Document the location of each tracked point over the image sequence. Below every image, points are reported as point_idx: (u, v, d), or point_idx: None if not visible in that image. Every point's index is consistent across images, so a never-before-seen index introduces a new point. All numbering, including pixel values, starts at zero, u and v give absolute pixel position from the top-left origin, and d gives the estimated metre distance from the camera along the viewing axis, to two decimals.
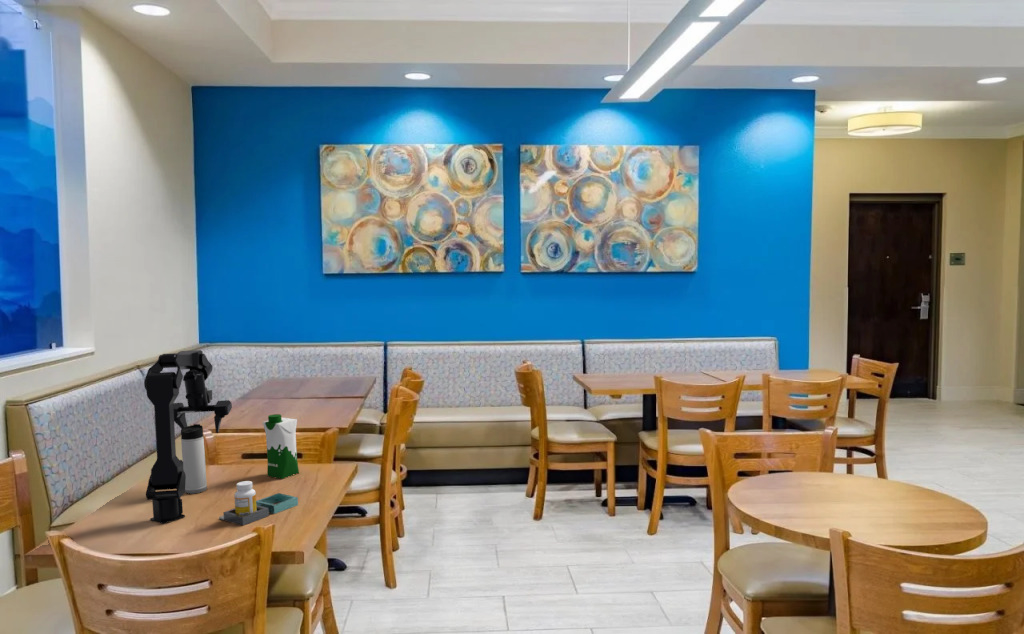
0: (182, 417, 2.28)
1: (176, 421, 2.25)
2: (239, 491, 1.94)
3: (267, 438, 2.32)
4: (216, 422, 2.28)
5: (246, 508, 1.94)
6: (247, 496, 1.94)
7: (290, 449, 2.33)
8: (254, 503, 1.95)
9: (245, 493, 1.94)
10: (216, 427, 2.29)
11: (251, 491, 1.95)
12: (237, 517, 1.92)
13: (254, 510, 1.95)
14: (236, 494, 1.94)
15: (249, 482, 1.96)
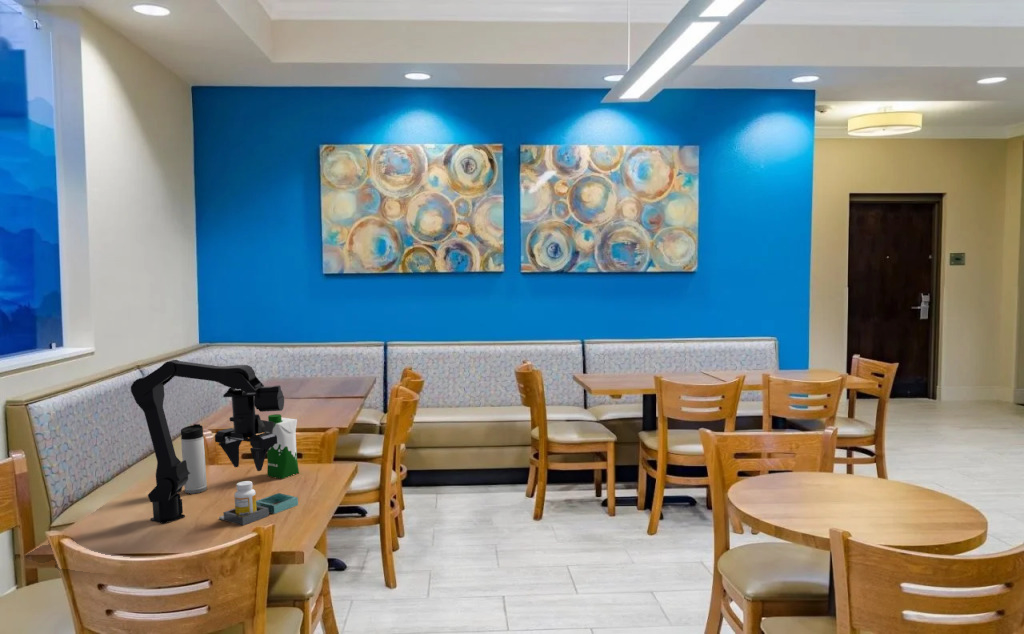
0: (232, 445, 1.99)
1: (222, 447, 1.97)
2: (239, 491, 1.94)
3: None
4: (253, 456, 1.92)
5: (246, 508, 1.94)
6: (247, 496, 1.94)
7: (290, 449, 2.33)
8: (254, 503, 1.95)
9: (245, 493, 1.94)
10: (255, 463, 1.93)
11: (251, 491, 1.95)
12: (237, 517, 1.92)
13: (254, 510, 1.95)
14: (236, 494, 1.94)
15: (249, 482, 1.96)
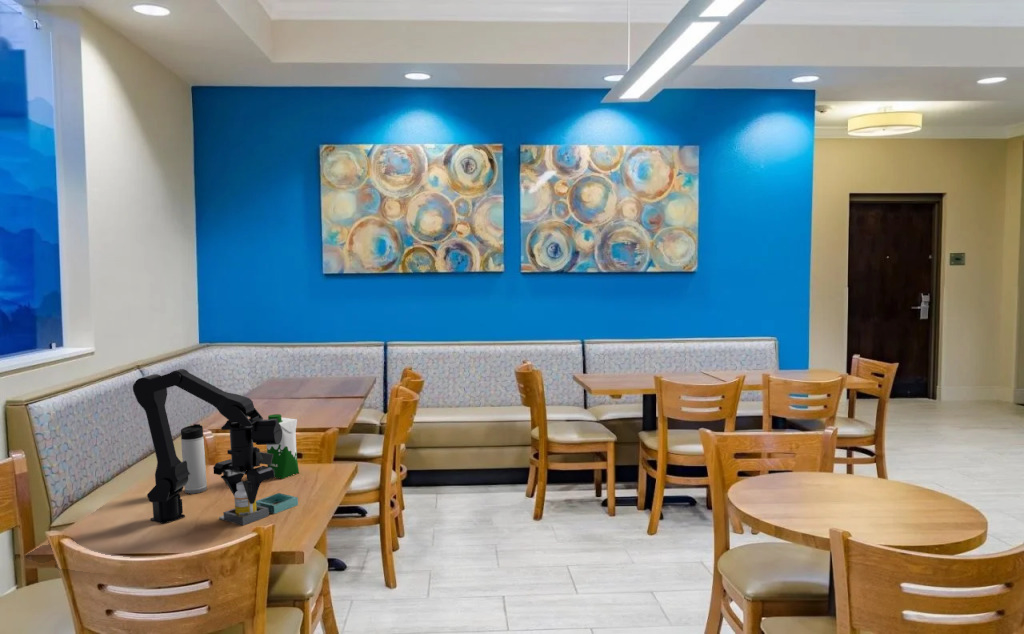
0: (234, 477, 1.97)
1: (224, 480, 1.96)
2: (239, 491, 1.94)
3: None
4: (246, 489, 1.92)
5: (246, 508, 1.94)
6: None
7: (290, 449, 2.33)
8: (254, 503, 1.95)
9: (245, 493, 1.94)
10: (247, 495, 1.93)
11: None
12: (237, 517, 1.92)
13: (254, 510, 1.95)
14: (236, 494, 1.94)
15: None
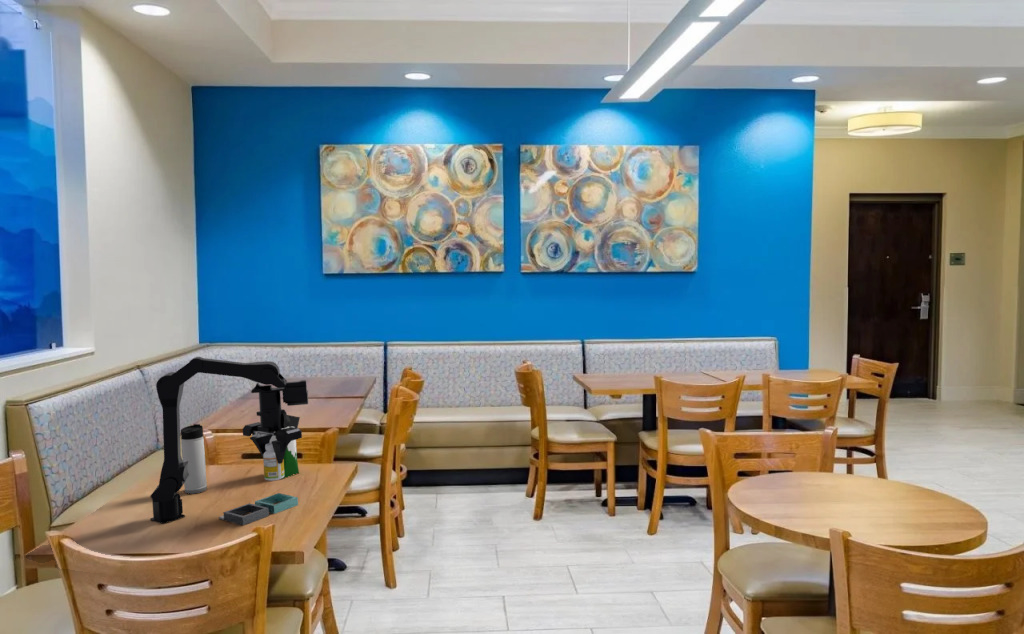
0: (263, 439, 2.04)
1: (253, 441, 2.03)
2: (268, 451, 2.02)
3: None
4: (274, 449, 1.99)
5: (275, 468, 2.01)
6: (275, 456, 2.01)
7: (290, 449, 2.33)
8: (282, 463, 2.03)
9: (273, 453, 2.01)
10: (276, 455, 2.00)
11: None
12: (237, 517, 1.92)
13: (282, 470, 2.03)
14: (265, 454, 2.01)
15: None
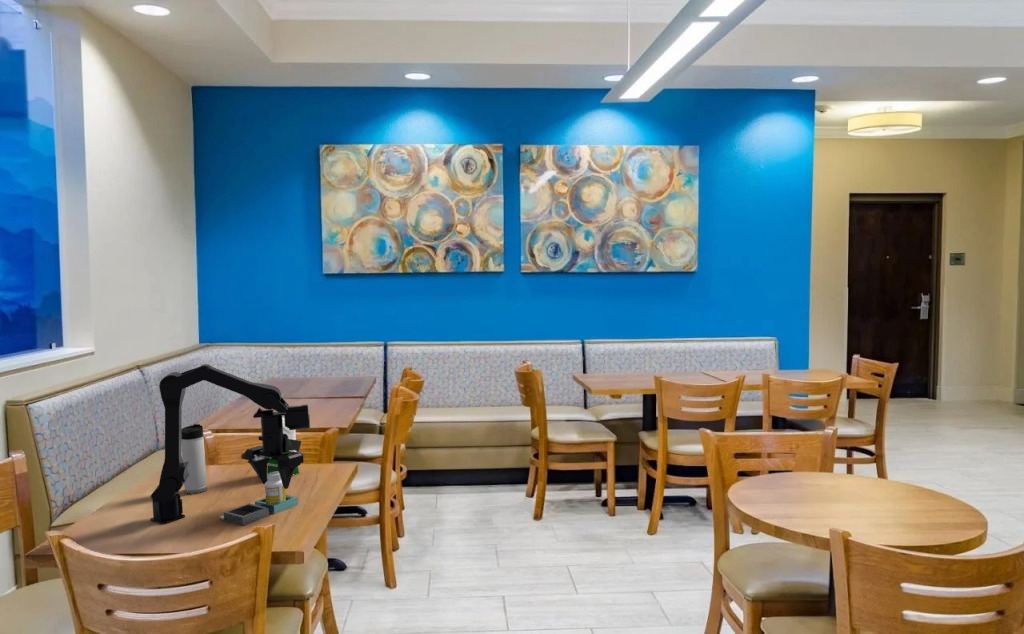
0: (260, 462, 2.06)
1: (251, 464, 2.05)
2: (269, 481, 2.02)
3: None
4: (280, 474, 1.99)
5: (276, 497, 2.02)
6: (277, 485, 2.02)
7: None
8: (284, 492, 2.04)
9: (275, 483, 2.02)
10: (282, 481, 2.00)
11: (281, 481, 2.03)
12: (237, 517, 1.92)
13: (284, 499, 2.04)
14: (267, 484, 2.02)
15: None
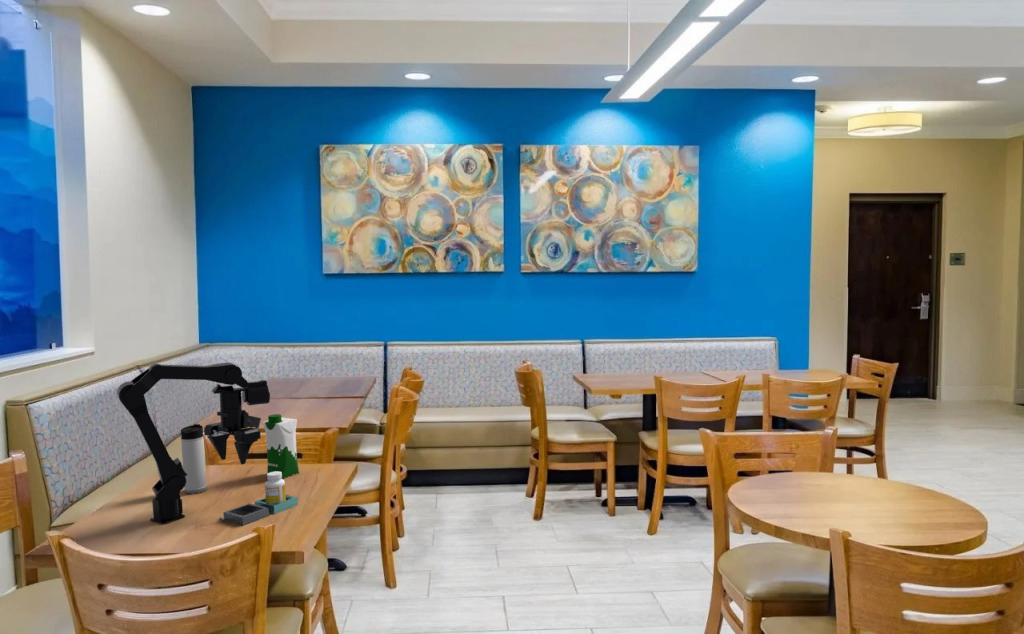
0: (220, 438, 2.08)
1: (210, 440, 2.07)
2: (269, 481, 2.02)
3: (267, 438, 2.32)
4: (237, 449, 2.01)
5: (276, 497, 2.02)
6: (277, 485, 2.02)
7: (290, 449, 2.33)
8: (284, 492, 2.04)
9: (275, 483, 2.02)
10: (239, 456, 2.02)
11: (281, 481, 2.03)
12: (237, 517, 1.92)
13: (284, 499, 2.04)
14: (267, 484, 2.02)
15: (279, 472, 2.04)
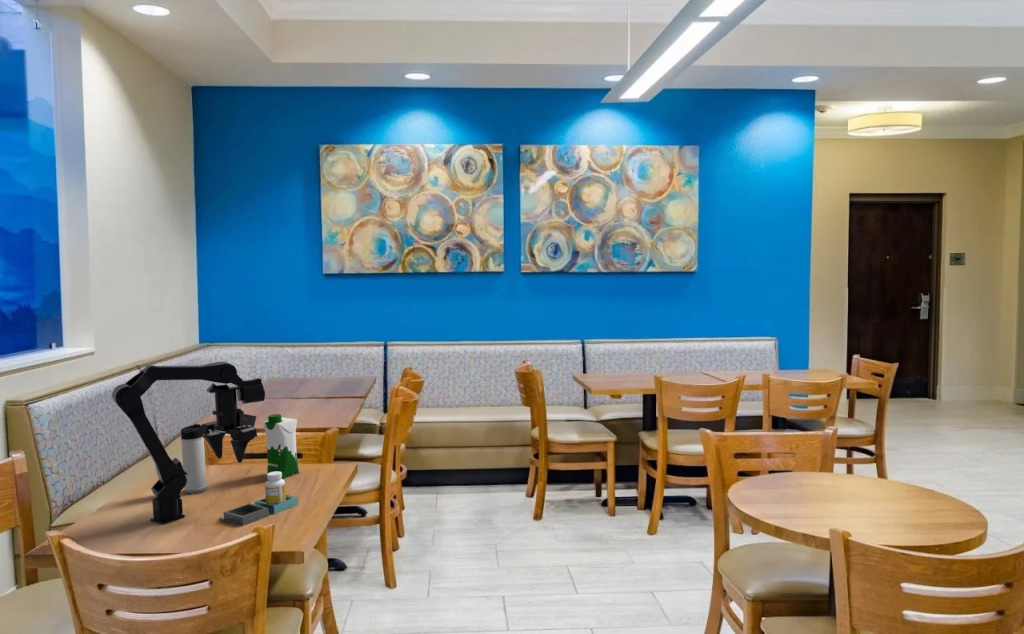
0: (215, 437, 2.08)
1: (206, 439, 2.07)
2: (269, 481, 2.02)
3: (267, 438, 2.32)
4: (233, 448, 2.01)
5: (276, 497, 2.02)
6: (277, 485, 2.02)
7: (290, 449, 2.33)
8: (284, 492, 2.04)
9: (275, 483, 2.02)
10: (235, 454, 2.02)
11: (281, 481, 2.03)
12: (237, 517, 1.92)
13: (284, 499, 2.04)
14: (267, 484, 2.02)
15: (279, 472, 2.04)
